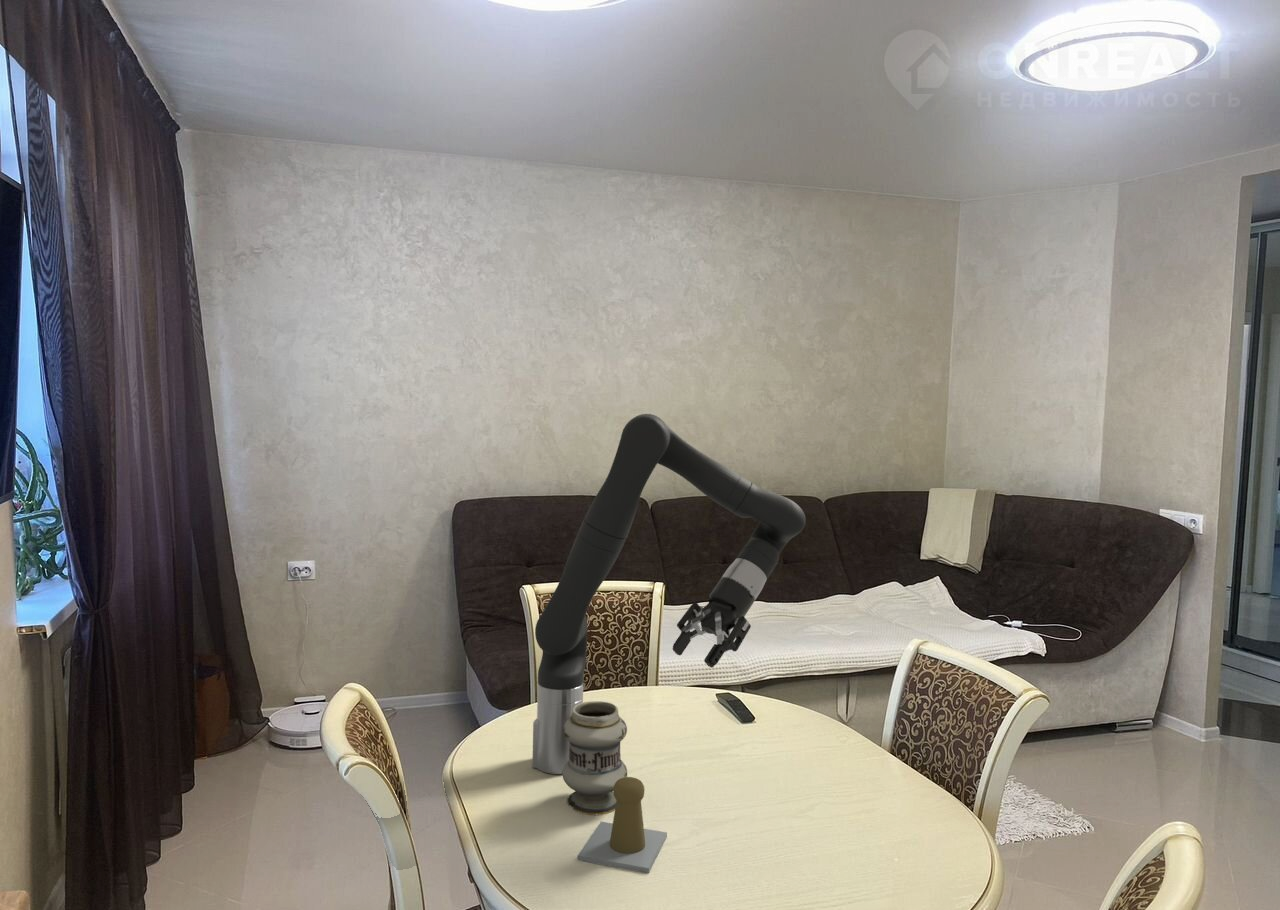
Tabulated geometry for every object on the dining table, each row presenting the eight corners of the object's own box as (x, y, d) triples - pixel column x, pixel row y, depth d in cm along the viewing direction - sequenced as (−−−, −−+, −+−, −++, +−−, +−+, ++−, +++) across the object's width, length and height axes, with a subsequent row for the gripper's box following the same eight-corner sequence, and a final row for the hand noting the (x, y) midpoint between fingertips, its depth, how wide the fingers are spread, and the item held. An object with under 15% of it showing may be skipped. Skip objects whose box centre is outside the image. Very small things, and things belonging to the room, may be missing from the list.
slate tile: (577, 860, 142) (577, 855, 142) (600, 825, 154) (601, 821, 154) (648, 873, 139) (649, 868, 139) (667, 836, 151) (667, 832, 151)
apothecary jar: (549, 798, 164) (551, 704, 163) (601, 782, 171) (604, 692, 170) (585, 824, 154) (587, 725, 153) (639, 806, 162) (642, 711, 160)
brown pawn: (641, 855, 143) (643, 790, 142) (605, 851, 144) (607, 786, 143) (648, 837, 149) (650, 774, 148) (613, 833, 150) (615, 770, 149)
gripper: (702, 569, 168) (655, 637, 161) (757, 583, 157) (708, 656, 151) (721, 593, 172) (675, 660, 165) (775, 608, 161) (729, 681, 154)
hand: (691, 658), depth 158 cm, fingers open, 8 cm apart
